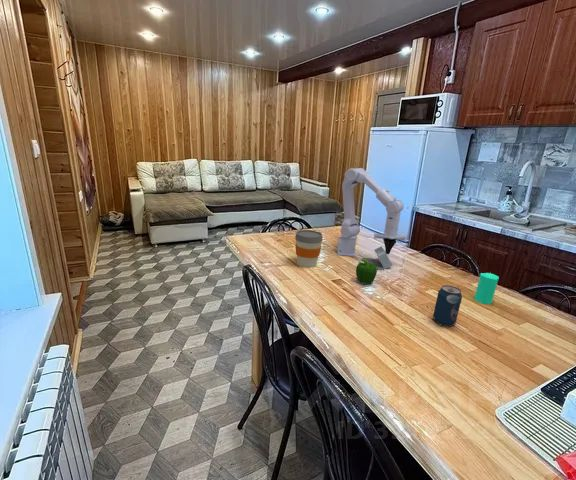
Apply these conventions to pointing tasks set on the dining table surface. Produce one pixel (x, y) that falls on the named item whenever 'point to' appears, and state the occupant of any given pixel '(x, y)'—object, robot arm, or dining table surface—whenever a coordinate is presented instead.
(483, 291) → the candle
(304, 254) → the reusable coffee cup
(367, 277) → the bell pepper
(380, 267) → the flat gray panel
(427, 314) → the dining table surface
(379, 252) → the slab
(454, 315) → the soda can
